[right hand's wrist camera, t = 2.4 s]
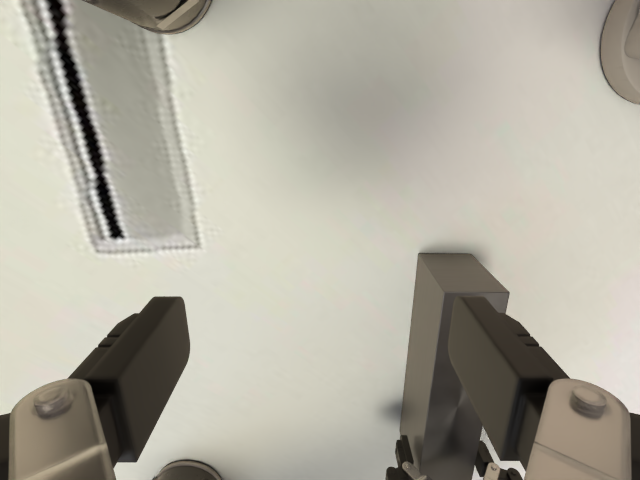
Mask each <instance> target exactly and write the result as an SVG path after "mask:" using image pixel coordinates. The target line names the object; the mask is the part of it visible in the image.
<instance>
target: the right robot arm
mask: <svg viewBox="0 0 640 480" xmlns="http://www.w3.org/2000/svg"><path fill="white" fill-rule="evenodd" d="M83 1H85V2H87V3H90V4H92V5H94V6H97V7H99V8H101V9H103V10H106V11H108V12H110V13H113V14H115V15H117V16H119V17H122V18H124V19H126V20H129V21H131V22H133V23H134V24H137V25H138V26H140V27H142V28H144V29H147V30H149V31H152V32H155V33H159V34H176V33H180V32H183V31H186V30H188V29H190V28H191V27H193V26H194V25H195V24H196V23H198V22H199V21H200V19H201V18H202V17H203V16H204V14H205V13H206V11H207V9H208V7H209V5H210V3H211V0H83ZM448 352H449V358H450V361H451V363H452V366H453V368H454V370H455V372H456V373H457V375H458V377H459V379H460V381H461V383H462V385H463V387H464V389H465V391H466V393H467V395H468V397H469V399H470V401H471V403H472V405H473V407H474V409H475V411H476V413H477V415H478V417H479V419H480V421H481V423H482V425H483V427H484V429H485V431H486V433H487V435H488V437H489V439H490V441H491V443H492V445H493V447H494V449H495V451H496V453H497V455H498V457H499V459H500V461H520V462H521V464H522V466H523V467H524V469H525V471H526V473H525V477H524V480H640V415H638V414H634V413H629V412H628V409H627V408H626V407H625V405H624V404H623V403H622V402H621V401H620V400H619V399H618V398H616V397H615V396H614V395H612V394H611V393H609V392H608V391H606V390H604V389H602V388H600V387H598V386H596V385H594V384H591V383H588V382H585V381H581V380H577V379H570V378H569V377H568V376H567V374H566V373H565V372H564V371H563V370H562V369H561V368H560V367H559V366H558V365H557V363H556V362H555V361H554V360H553V359H552V358H551V357H550V356H549V355H548V354H547V352H546V351H545V350H544V349H543V348H542V347H539V344H538V342H537V341H536V340H535V339H534V338H533V337H530V334H529V333H528V331H527V330H526V329H525V328H524V327H523V326H522V325H521V324H520V323H519V322H518V321H516V320H514V319H513V318H511V317H509V316H508V315H506V314H504V313H498V312H497V311H496V309H495V308H494V307H493V306H492V305H491V304H490V302H489V301H488V300H487V299H486V298H485V297H484V296H457V297H456V298H455V300H454V303H453V310H452V317H451V324H450V331H449V339H448ZM189 353H190V339H189V332H188V325H187V318H186V311H185V304H184V300H183V299H182V297H153V298H152V299H151V300H150V301H149V303H148V304H147V305H146V306H145V307H144V308H143V310H142V311H141V312H140V313H134V314H133V315H131V316H129V317H128V318H126V319H124V320H123V321H121V322H120V323H118V324H117V325H116V326H115V327H114V328H113V329H112V331H111V332H110V333H109V334H108V335H107V338H104V339H103V340H102V341H101V343H100V344H99V345H98V348H95V349H94V350H93V351H92V352H91V353H90V355H89V356H88V357H87V358H86V359H85V360H84V361H83V362H82V363H81V364H80V365H79V367H78V368H77V369H76V370H75V371H74V372H73V373H72V374H71V375H70V376H69V377H68V379H63V380H59V381H55V382H52V383H49V384H46V385H44V386H42V387H40V388H38V389H36V390H34V391H32V392H31V393H29V394H28V395H26V396H25V397H24V398H22V399H21V400H20V401H19V402H18V403H17V404H16V405H15V407H14V408H13V409H12V412H11V413H9V414H4V415H0V480H116V477H115V473H114V470H113V468H114V467H115V465H116V463H117V462H137V460H138V458H139V456H140V454H141V453H142V451H143V449H144V447H145V445H146V443H147V441H148V439H149V437H150V435H151V433H152V431H153V429H154V427H155V425H156V423H157V421H158V419H159V417H160V415H161V413H162V411H163V409H164V407H165V405H166V404H167V402H168V400H169V398H170V396H171V394H172V392H173V390H174V388H175V386H176V384H177V382H178V380H179V378H180V376H181V374H182V372H183V370H184V368H185V366H186V364H187V362H188V358H189Z"/></svg>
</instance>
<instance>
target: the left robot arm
mask: <svg viewBox="0 0 640 480" xmlns="http://www.w3.org/2000/svg"><path fill="white" fill-rule="evenodd" d="M395 454H396V459H397V463H398V468H394V467H389V468H387V471H386V480H432V479H431V478H430V477H429V476H428V475H423V474H422V473H421V472H420V471H419V470H418V469H417V468H416V467H415V466H414V465H413V464H414V460H413V456H412V452H411V448H410V445H409V441H408V437H407V435H401V436H400V440H397V442H396V450H395ZM475 466H476V469H477V471H478V473H479V476H480V477H484V478H483V480H523V479H522V477H521V475H520V473H519V472H518V471H517V470H516V469H514V468H509V469H508V470H504V469H501V468H500V467H499V466H498V465H497V464H495V463H494V461H493V459H492V457H491V455H490V453H489V451H488V449H487V447H486V444H485V443H484V442H483V441H479V446H478V451H477V456H476V461H475ZM152 480H221V478H220V476H219V475H218V474H217V473H216V472H215V471H214V470H213V469H212V468H210V467H208V466H207V465H204V464H202V463H199V462H194V461H178V462H174V463H171V464H169V465H167V466H166V467H164V468H163V469H162V470H161V471H160V473H159V475H158V477H157V478H155V479H152Z"/></svg>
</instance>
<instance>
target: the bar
mask: <svg viewBox="0 0 640 480" xmlns="http://www.w3.org/2000/svg"><path fill="white" fill-rule="evenodd" d="M457 296H484V297H485V298H486V299H487V300H488V301H489V302H490V304H491V305H492V306H493V307H494V308H495V309H496V311H497V312H498V313H504V314H505V313H506V308H507V303H508V298H509V291H508V290H507V289H506V288H505V287H504V286H503V285H502V284H501V283H500V282H499V281H498V280H497V279H496V278H495V277H494V276H493V275H492V274H491V273H489V272H488V271H487V270H486V269H485V268H484V267H483V266H482V265H481V264H480V263H479V262H478V261H477V260H476V259H475V258H474V257H473V256H472V255H471V254H423V253H419V254H418V263H417V273H416V282H415V291H414V301H413V310H412V319H411V329H410V338H409V347H408V357H407V366H406V375H405V385H404V394H403V403H402V413H401V422H400V435H407V437H408V441H409V445H410V448H411V452H412V456H413V460H414V464H413V465H414V466H415V467H416V468H417V469H418V470H419V471H420V472H421V473H422V474H423V475H428V476H429V477H430V478H431V479H432V480H472V475H473V470H474V465H475V461H476V456H477V451H478V446H479V441H480V436H481V431H482V426H483V425H482V423H481V421H480V419H479V417H478V415H477V413H476V411H475V409H474V407H473V405H472V403H471V401H470V399H469V397H468V395H467V393H466V391H465V389H464V387H463V385H462V383H461V381H460V379H459V377H458V375H457V373H456V372H455V370H454V368H453V366H452V363H451V361H450V358H449V352H448V339H449V331H450V324H451V317H452V310H453V303H454V300H455V298H456V297H457Z"/></svg>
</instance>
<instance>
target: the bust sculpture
mask: <svg viewBox="0 0 640 480" xmlns="http://www.w3.org/2000/svg"><path fill="white" fill-rule="evenodd" d="M601 61H602V66H603V70H604V73H605V76H606V78H607V80H608V82H609V84H610V85H611V86H612V88H613V89H614V90H615V91H616V92H617V93H618V94H619V95H620V96H622V97H623V98H625V99H626V100H628V101H630V102H633V103H636V104H640V0H616V1H615V3H614V4H613V6H612V8H611V10H610V13H609V15H608V17H607V20H606V23H605V26H604V30H603V34H602V40H601Z"/></svg>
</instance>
